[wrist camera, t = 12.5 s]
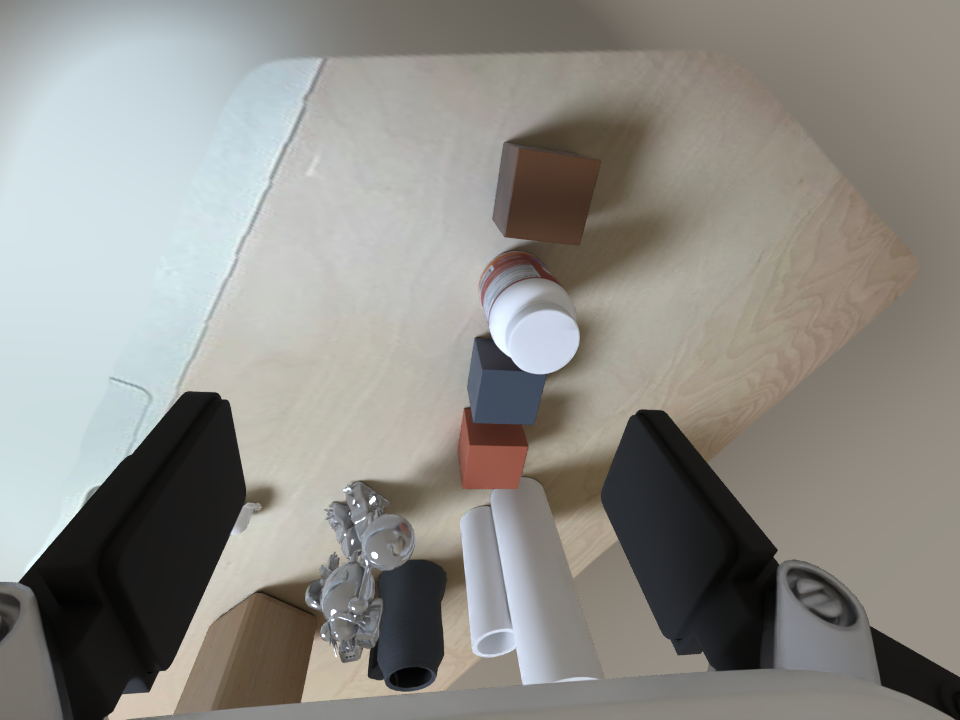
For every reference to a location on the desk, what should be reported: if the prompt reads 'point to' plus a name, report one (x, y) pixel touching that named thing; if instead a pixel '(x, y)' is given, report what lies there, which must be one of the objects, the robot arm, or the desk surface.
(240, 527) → the rabbit figurine
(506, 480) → the block
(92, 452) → the desk surface
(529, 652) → the vase
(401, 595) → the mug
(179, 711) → the wooden block
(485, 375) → the block
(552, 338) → the pill bottle
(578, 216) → the block
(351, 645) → the robot toy
